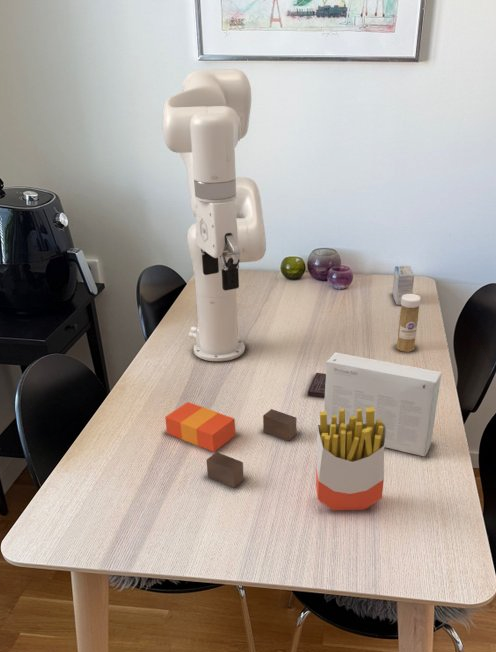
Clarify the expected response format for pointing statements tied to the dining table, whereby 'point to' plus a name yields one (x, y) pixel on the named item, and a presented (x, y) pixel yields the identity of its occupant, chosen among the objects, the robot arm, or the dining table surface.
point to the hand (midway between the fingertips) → (220, 281)
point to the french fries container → (350, 461)
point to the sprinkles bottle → (408, 322)
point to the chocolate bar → (318, 385)
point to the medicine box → (402, 282)
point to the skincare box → (385, 398)
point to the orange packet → (200, 426)
